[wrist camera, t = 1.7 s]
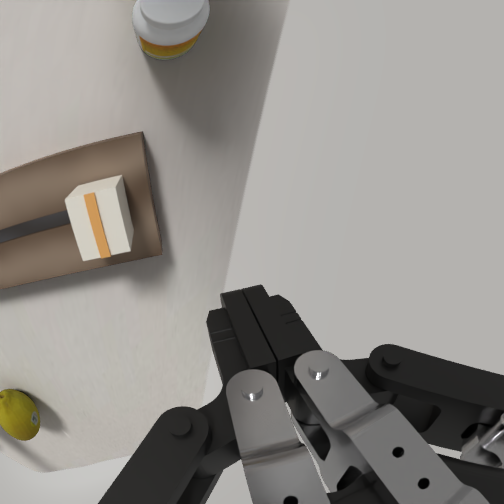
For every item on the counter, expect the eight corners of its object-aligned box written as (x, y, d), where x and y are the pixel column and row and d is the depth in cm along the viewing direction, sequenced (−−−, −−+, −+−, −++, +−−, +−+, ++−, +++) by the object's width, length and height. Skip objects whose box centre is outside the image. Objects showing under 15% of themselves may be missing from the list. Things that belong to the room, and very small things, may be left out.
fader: (77, 185, 21) (63, 200, 17) (122, 174, 22) (115, 187, 18) (92, 239, 23) (82, 262, 20) (133, 230, 24) (130, 252, 21)
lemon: (47, 416, 36) (43, 454, 29) (10, 407, 33) (4, 443, 26) (34, 379, 32) (25, 422, 25) (-7, 369, 29) (-19, 409, 22)
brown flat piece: (-49, 196, 18) (-64, 205, 15) (142, 131, 24) (140, 134, 21) (-18, 281, 23) (-29, 296, 21) (161, 240, 29) (162, 255, 26)
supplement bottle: (207, 44, 21) (233, 13, 13) (153, 71, 21) (150, 49, 13) (182, 0, 19) (196, -46, 10) (128, 26, 18) (114, -13, 10)
